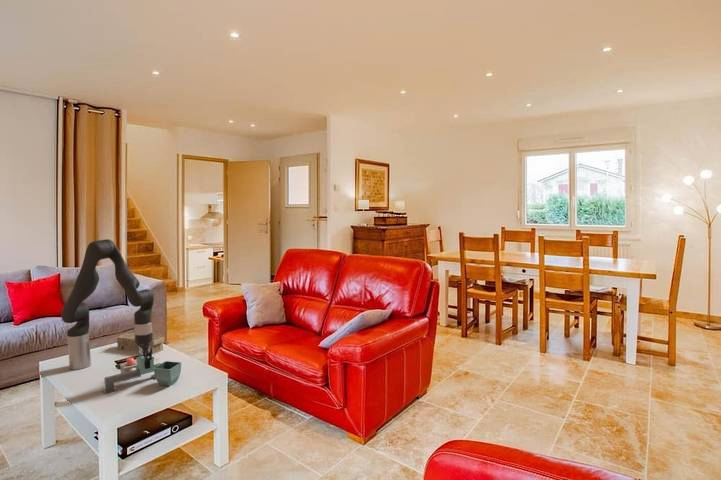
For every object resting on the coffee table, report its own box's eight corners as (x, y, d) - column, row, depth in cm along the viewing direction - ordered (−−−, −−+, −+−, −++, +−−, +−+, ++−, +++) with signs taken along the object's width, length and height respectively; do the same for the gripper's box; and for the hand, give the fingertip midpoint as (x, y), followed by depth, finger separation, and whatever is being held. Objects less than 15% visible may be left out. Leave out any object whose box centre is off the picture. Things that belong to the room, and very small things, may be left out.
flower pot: (170, 388, 188) (169, 369, 187) (153, 387, 189) (152, 368, 189) (182, 380, 196) (181, 362, 196) (166, 379, 198) (165, 360, 197)
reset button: (125, 367, 201) (125, 359, 201) (133, 365, 204) (132, 357, 203) (127, 369, 199) (127, 360, 199) (135, 367, 201) (134, 359, 201)
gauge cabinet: (121, 376, 202) (120, 364, 201) (136, 372, 207) (136, 360, 206) (125, 380, 196) (124, 368, 196) (141, 376, 201) (140, 364, 201)
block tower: (116, 351, 241) (154, 355, 231) (114, 337, 240) (153, 340, 230) (127, 346, 248) (165, 350, 238) (126, 332, 247) (164, 336, 237)
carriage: (137, 371, 197) (136, 357, 196) (150, 367, 201) (149, 354, 200) (140, 374, 193) (139, 360, 192) (154, 370, 197) (153, 356, 197)
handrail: (101, 390, 187) (101, 377, 186) (162, 373, 205) (161, 361, 204) (104, 393, 183) (103, 380, 182) (165, 376, 201) (165, 364, 201)
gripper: (130, 330, 198) (132, 364, 199) (139, 337, 187) (141, 373, 189) (147, 327, 203) (149, 360, 204) (157, 333, 193) (159, 368, 194)
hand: (145, 366), depth 197 cm, fingers open, 5 cm apart
